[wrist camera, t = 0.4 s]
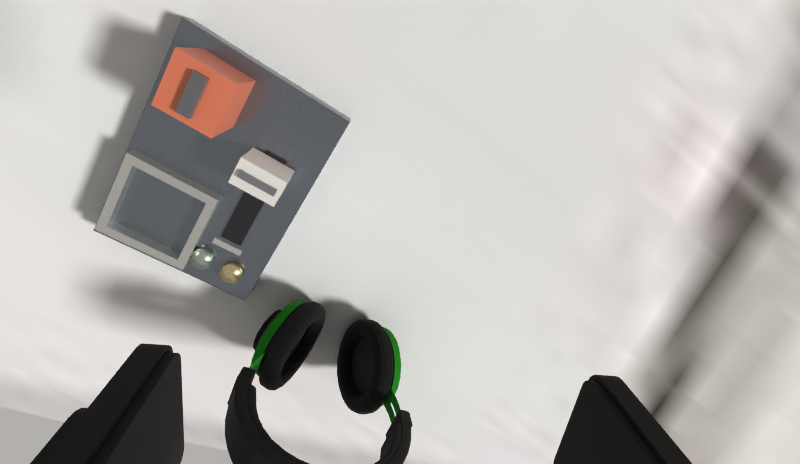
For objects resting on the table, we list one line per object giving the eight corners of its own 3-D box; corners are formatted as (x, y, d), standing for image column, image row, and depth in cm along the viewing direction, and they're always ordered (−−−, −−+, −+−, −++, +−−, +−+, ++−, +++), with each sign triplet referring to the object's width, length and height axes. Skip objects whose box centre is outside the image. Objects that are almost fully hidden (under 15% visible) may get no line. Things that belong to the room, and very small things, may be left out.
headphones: (278, 272, 44) (215, 426, 26) (413, 317, 47) (443, 481, 29) (253, 342, 47) (180, 524, 29) (381, 379, 50) (390, 563, 32)
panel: (192, 19, 35) (176, 15, 32) (350, 118, 39) (349, 123, 36) (105, 222, 41) (85, 235, 38) (250, 290, 45) (242, 307, 42)
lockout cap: (203, 48, 34) (171, 46, 28) (256, 80, 35) (234, 85, 29) (182, 98, 35) (146, 105, 29) (232, 127, 36) (208, 139, 31)
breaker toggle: (253, 147, 37) (239, 158, 33) (294, 170, 38) (286, 183, 34) (241, 170, 37) (226, 183, 33) (282, 192, 38) (273, 208, 34)
